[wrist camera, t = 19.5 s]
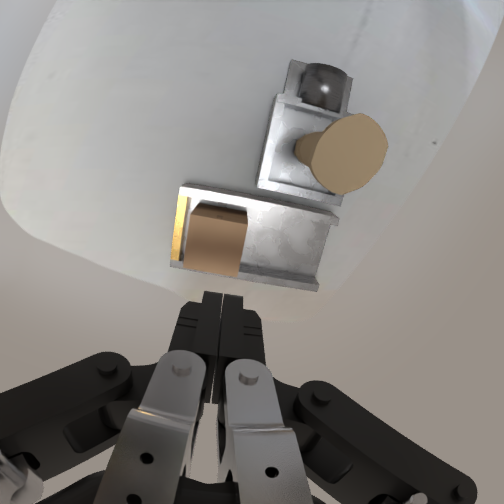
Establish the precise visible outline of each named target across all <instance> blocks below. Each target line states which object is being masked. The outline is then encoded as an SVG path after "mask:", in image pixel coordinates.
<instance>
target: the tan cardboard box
mask: <svg viewBox="0 0 504 504" xmlns="http://www.w3.org/2000/svg"><path fill="white" fill-rule="evenodd" d="M247 228H248V218H247V212H245V211H240V210H235V209H230V208H224V207H219V206H213V205H208V204H202V203H198V204H197V205H196V207H195V208H194V210H193V211H192V212H191V214H190V219H189V225H188V232H187V239H186V247H185V255H184V262H183V268H187V269H193V270H198V271H204V272H209V273H215V274H220V275H226V276H232V277H237V276H238V271H239V266H240V261H241V257H242V252H243V247H244V242H245V238H246V233H247Z"/></svg>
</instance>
